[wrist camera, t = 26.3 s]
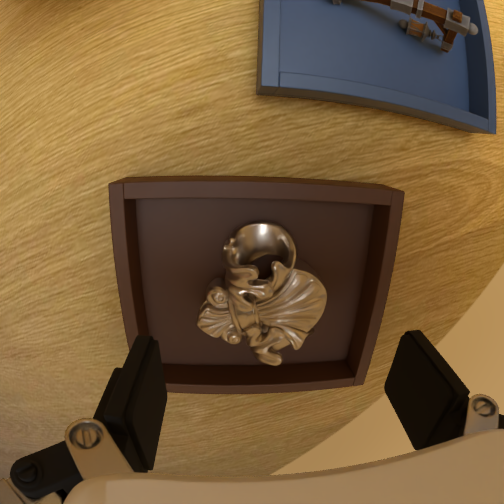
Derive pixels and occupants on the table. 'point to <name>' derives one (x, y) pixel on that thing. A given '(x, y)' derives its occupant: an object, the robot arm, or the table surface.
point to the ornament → (263, 294)
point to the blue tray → (378, 60)
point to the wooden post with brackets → (452, 19)
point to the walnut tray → (211, 267)
